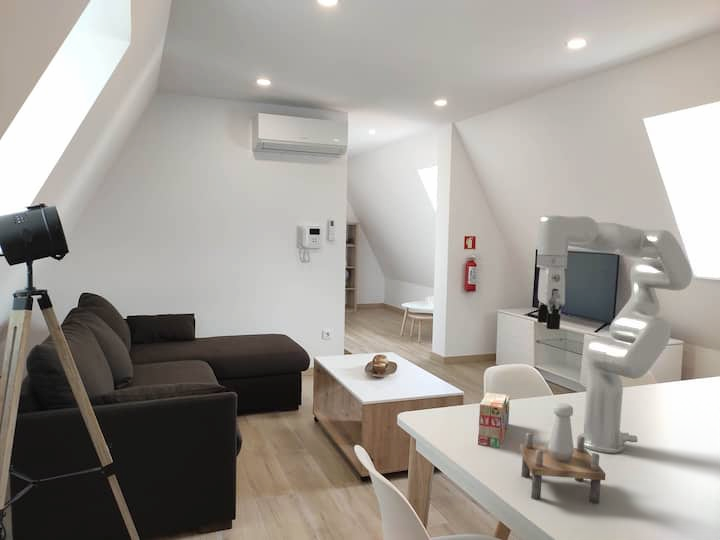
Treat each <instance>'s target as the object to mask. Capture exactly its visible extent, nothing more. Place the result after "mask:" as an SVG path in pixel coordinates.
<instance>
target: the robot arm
mask: <svg viewBox="0 0 720 540" xmlns="http://www.w3.org/2000/svg"><path fill="white" fill-rule="evenodd" d="M537 236H538V239H537V254H536V255H537V256H536V267H537V268H539V272H538V273H539V276H538V287H537V299H538V301H539V303H538V308H537V310H538V311H537V322H538V324H541V323H542V324H546V329H547V330H557V331H558V330H560V327H561V311H562V310H561V308H562V307H563V306H565V303H566V274H565V272H566V271H565V269H567V268H568V267H567V265H568V250H569V247H575V248H580V249H586V250H591V251H595V252H602V253H606V254H607V253H608V254H613V255H619V256H624V257H628V258H633V259H640V260H638V261H635V262H634V263H633V265H632V266H631V268H630V277H629V278H630V283H631V294H630V295H631V296H630V297H629V300H628V301H627V302H626V303H625V304H624V306H623V308H622V309H621V310H620V311H619V312H618V314H617V315H616V316H615V317H614V318H613V320H612V321H611V323H610V326H609V329H608V330H609V334H610V336H611V337H607V336H596V337H592V338H591V339H590V340H589V341H588V342H587V344H586V346H585V349H584V360H585V366H586V390H585V391H586V392H585V394H586V395H585V405H584V422H583V423H584V424H583V433H580V434H579V435H578V436H582V437H584V438H585V439H584V448H585V449H589V450H592V451H595V452H598V453H607V454H618V453H621V452H623V451H625V449H626V448H625V443H627V442H629V443H638V436H637V435H633V434H630V433H629V432H622V431H621V419H622V405H623V404H622V403H623V382H622V379H621V377H624V378H629V379H637V380H638V379H639V378H642V377H643V376H645V375H646V374H647V373H648V371H650V369H651V368H652V366H653V365H654V364H655V362H656V361H657V360H658V358H659V357H660V356H661V354H663V352H664V351H665V349H666V348H667V346H668V344H669V341H670V338H671V333H672V331H671V326H670V325H669V323H668V321H666V320H665V319H664V318H662V317H661V316H657V315H658V314H659V312H660V308H661V304H660V301H659V298H658V295H657V293H656V289H660V290H666V291H667V290H668V291H683V290H685V289H687V288H688V287H689V286H690V284H691V282H692V279H693V271H692V268H691V265H690V263H689V261H688V259H687V256H686V254H685V252H684V251H683V249H682V246H681V245H680V242H679V241H678V240H677V238H676V236H674V234H673V233H672V232H670V231H669V230H666V229H642V228H638V227H631V226H629V225H625V224H619V223H616V222H607V221H605V222H604V221H601V222H599V221H597V222H596V220H594V219H593V218H592V217H590V216H586V215H543V216H541V217H540V218H539V222H538V235H537Z"/></svg>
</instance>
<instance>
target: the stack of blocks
mask: <svg viewBox="0 0 720 540" xmlns="http://www.w3.org/2000/svg"><path fill="white" fill-rule="evenodd" d="M478 417H479V418H478V435H477V445H478V446H481V447H489V448H495V449H500V448H501V446H502V445H503V441H504V439H505V434H506V431H507V430H508V426H509V420H510V419H509V417H510V396H509V395H507V394H504V393H503V394H501V393H494V392H486V393H485V394H484V397H483V399H482V400H481V402H480V403H479V416H478Z"/></svg>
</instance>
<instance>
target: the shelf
mask: <svg viewBox="0 0 720 540" xmlns="http://www.w3.org/2000/svg"><path fill="white" fill-rule="evenodd" d="M533 439H534V434H533V433H532V432H526V435H525V444H524V443H523V444H522V443H521V444H520V443H519V451H520V454H521V455H522V464H521V478H525V479H527V478H532V479H531V480H532V481H531V495H530V497H531V499H533V500H536V501H539V500H541V496H542V495H541V494H542V493H541V492H542V479H543V477H555V478H556V477H557V478H558V477H559V478H568V479H569V478H570V479H574V481H576V482H579V483H583V482H584V480H590V488H589V503H591V504H592V505H599V504H600V493H601V482H602V481H606V475H607V474H606V472H605V471H604V470H603V469H602V467H601V466H600V465H599V464H600V454H599V453H596V452H595V453H591V454H590V453H589V451H588V450H587V448H585V447H584V439H585V438H584V437H582V436H579V435H577V438H576V439H577V440H576V442H577V443H576V447H574V452H573V455H572V456H571V458H570V460H568V461H565V462H564V461H558V460H555V459H554V458H552V457H551V455H550V452H549V449H548V445H538V444H537V445H535V444H533ZM531 476H532V477H531Z"/></svg>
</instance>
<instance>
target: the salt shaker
mask: <svg viewBox="0 0 720 540" xmlns="http://www.w3.org/2000/svg"><path fill="white" fill-rule="evenodd" d="M553 413H554V414H555V419H554V423H553V426H552V431H551V434H550V438H549V440H548V441H549V442H548V445H547V446H548V449H549V452H550V455H551V457H552V458H554V459H555V460H558V461H564V462H565V461H568V460H570V458H571V456H572V455H573V452H574V448H575V447H574V442H573V441H574V440H573V432H572V430H573V429H572V422H571V417H572V416H573V414H574V409H573V406H572V405H570V404H568V403H565V402H564V403H561V402H560V403H558V402H557V403H555V404H554V406H553Z"/></svg>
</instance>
